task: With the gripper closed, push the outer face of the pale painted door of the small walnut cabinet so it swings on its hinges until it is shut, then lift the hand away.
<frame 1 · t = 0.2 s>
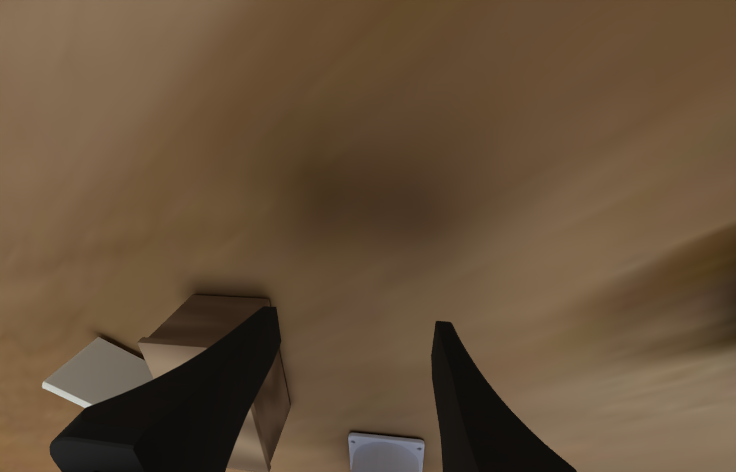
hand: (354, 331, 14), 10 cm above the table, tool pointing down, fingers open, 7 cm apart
cabinet: (245, 356, 30), on the table
door: (141, 397, 30), point 3 cm above the table, hinge at 55.0°
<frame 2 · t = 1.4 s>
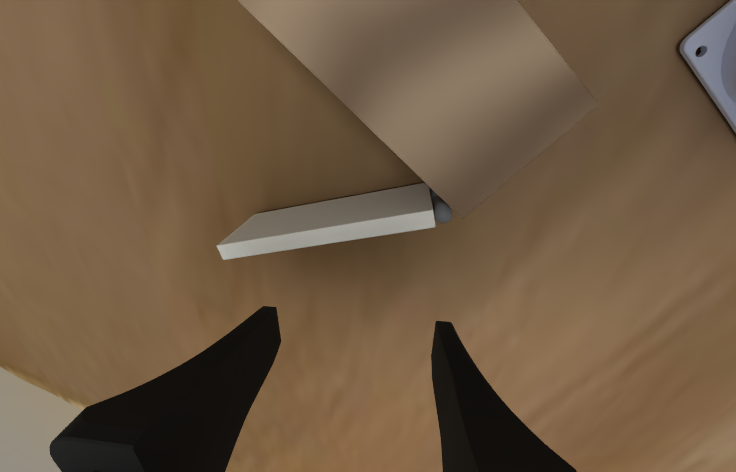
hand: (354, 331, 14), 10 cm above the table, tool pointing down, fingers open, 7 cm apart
cabinet: (410, 56, 18), on the table
door: (338, 223, 20), point 3 cm above the table, hinge at 55.0°
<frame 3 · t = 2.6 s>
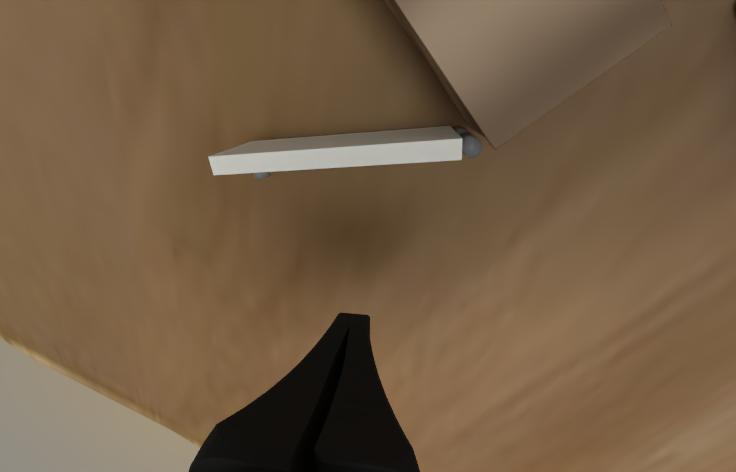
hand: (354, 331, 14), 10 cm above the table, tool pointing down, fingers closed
door: (348, 155, 18), point 3 cm above the table, hinge at 55.0°
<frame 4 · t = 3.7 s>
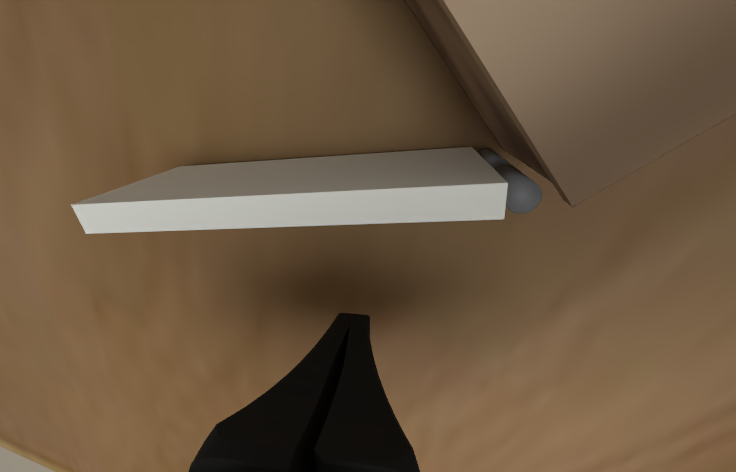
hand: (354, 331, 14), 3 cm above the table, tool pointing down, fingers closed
door: (312, 195, 11), point 3 cm above the table, hinge at 55.0°
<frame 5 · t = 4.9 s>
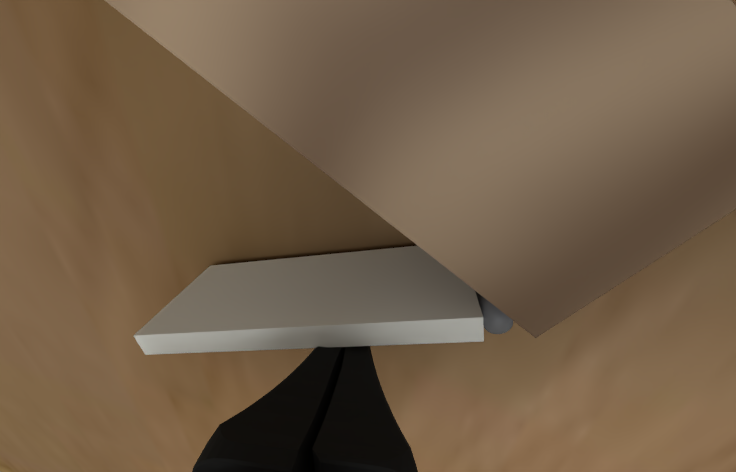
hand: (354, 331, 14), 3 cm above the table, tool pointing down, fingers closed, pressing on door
cabinet: (425, 64, 12), on the table
door: (325, 301, 14), point 3 cm above the table, hinge at 47.9°, touching gripper
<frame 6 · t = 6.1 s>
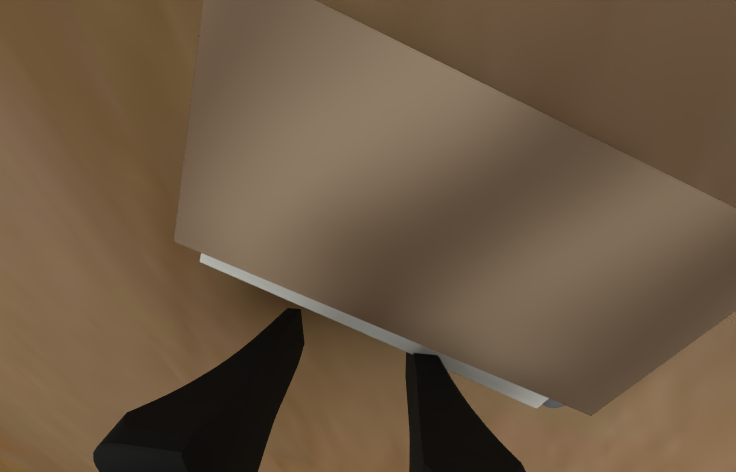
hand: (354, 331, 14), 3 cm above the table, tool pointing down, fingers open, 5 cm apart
cabinet: (436, 178, 14), on the table
door: (394, 295, 13), point 3 cm above the table, hinge at -1.4°, touching cabinet, gripper
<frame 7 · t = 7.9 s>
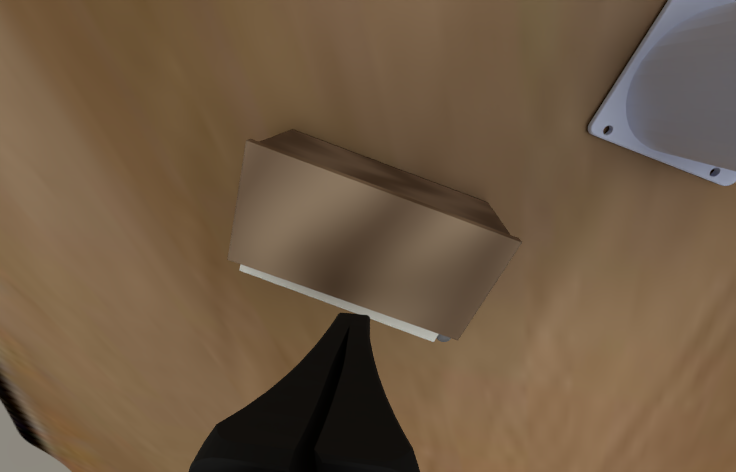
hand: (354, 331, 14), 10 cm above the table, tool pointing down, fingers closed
cabinet: (374, 212, 22), on the table
door: (352, 284, 22), point 3 cm above the table, hinge at -1.2°
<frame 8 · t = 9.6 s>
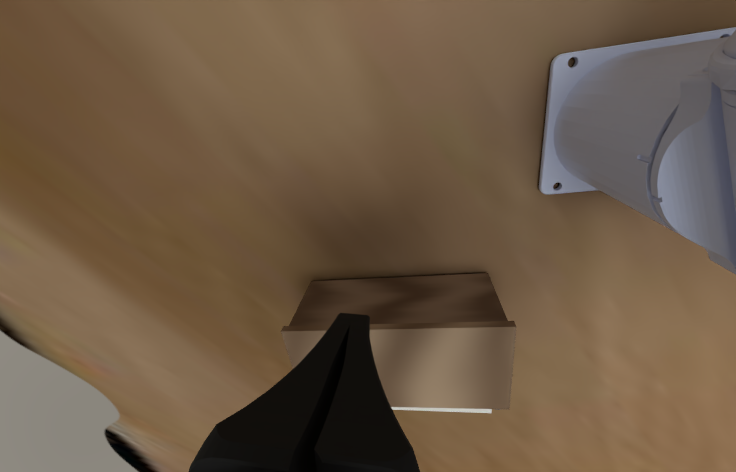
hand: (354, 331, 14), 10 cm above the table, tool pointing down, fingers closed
cabinet: (399, 312, 26), on the table
door: (406, 379, 26), point 3 cm above the table, hinge at -1.2°
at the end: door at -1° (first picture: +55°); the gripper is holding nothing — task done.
